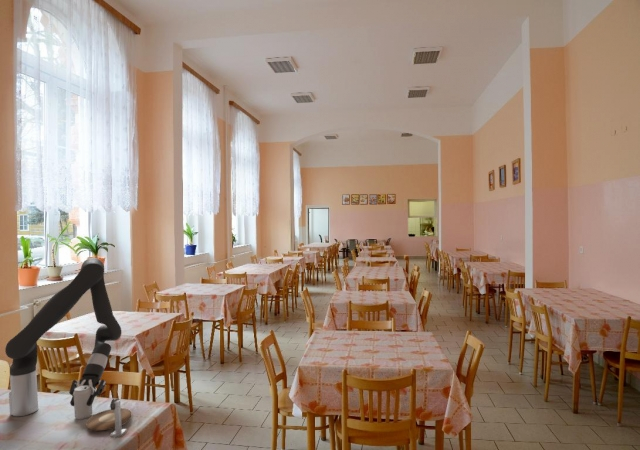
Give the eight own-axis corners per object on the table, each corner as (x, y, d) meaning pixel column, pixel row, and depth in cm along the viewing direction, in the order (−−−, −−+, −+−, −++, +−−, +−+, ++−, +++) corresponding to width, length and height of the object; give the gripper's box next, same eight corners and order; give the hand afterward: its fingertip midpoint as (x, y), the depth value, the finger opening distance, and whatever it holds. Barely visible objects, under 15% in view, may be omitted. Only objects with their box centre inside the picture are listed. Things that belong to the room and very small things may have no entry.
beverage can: (84, 420, 174) (83, 391, 174) (71, 419, 176) (69, 390, 175) (95, 413, 181) (94, 384, 180) (82, 412, 182) (81, 384, 182)
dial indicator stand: (110, 437, 160) (108, 402, 160) (117, 430, 165) (115, 396, 165) (121, 436, 160) (119, 402, 160) (127, 430, 165) (126, 396, 164)
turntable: (77, 430, 163) (77, 427, 163) (101, 411, 179) (101, 408, 179) (118, 430, 162) (118, 427, 162) (138, 410, 178) (138, 408, 178)
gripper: (75, 363, 186) (58, 402, 174) (107, 362, 185) (93, 401, 173) (83, 370, 191) (67, 409, 180) (115, 370, 190) (101, 408, 179)
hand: (80, 405), depth 176 cm, fingers closed on beverage can, 6 cm apart
